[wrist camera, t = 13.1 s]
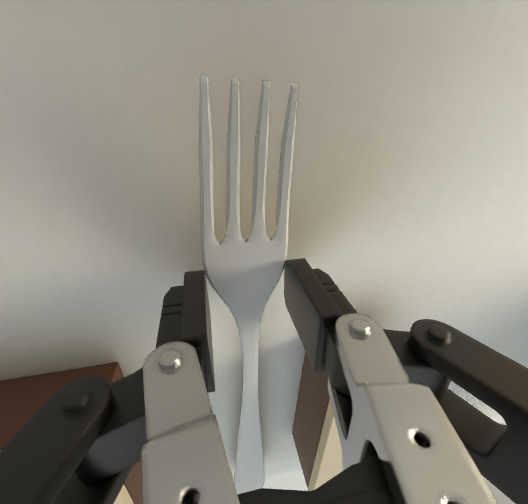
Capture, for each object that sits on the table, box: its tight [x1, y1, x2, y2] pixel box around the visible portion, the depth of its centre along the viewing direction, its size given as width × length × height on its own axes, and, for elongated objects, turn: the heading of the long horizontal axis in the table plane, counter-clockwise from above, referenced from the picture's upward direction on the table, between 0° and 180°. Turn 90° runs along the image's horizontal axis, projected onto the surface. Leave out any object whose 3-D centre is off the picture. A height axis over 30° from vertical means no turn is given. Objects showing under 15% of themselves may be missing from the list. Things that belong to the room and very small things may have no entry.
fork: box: [199, 75, 298, 494], centre depth 13 cm, size 3×24×2 cm, turn 179°
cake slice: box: [292, 352, 343, 491], centre depth 16 cm, size 4×9×4 cm, turn 177°
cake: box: [0, 363, 143, 504], centre depth 13 cm, size 8×9×4 cm
